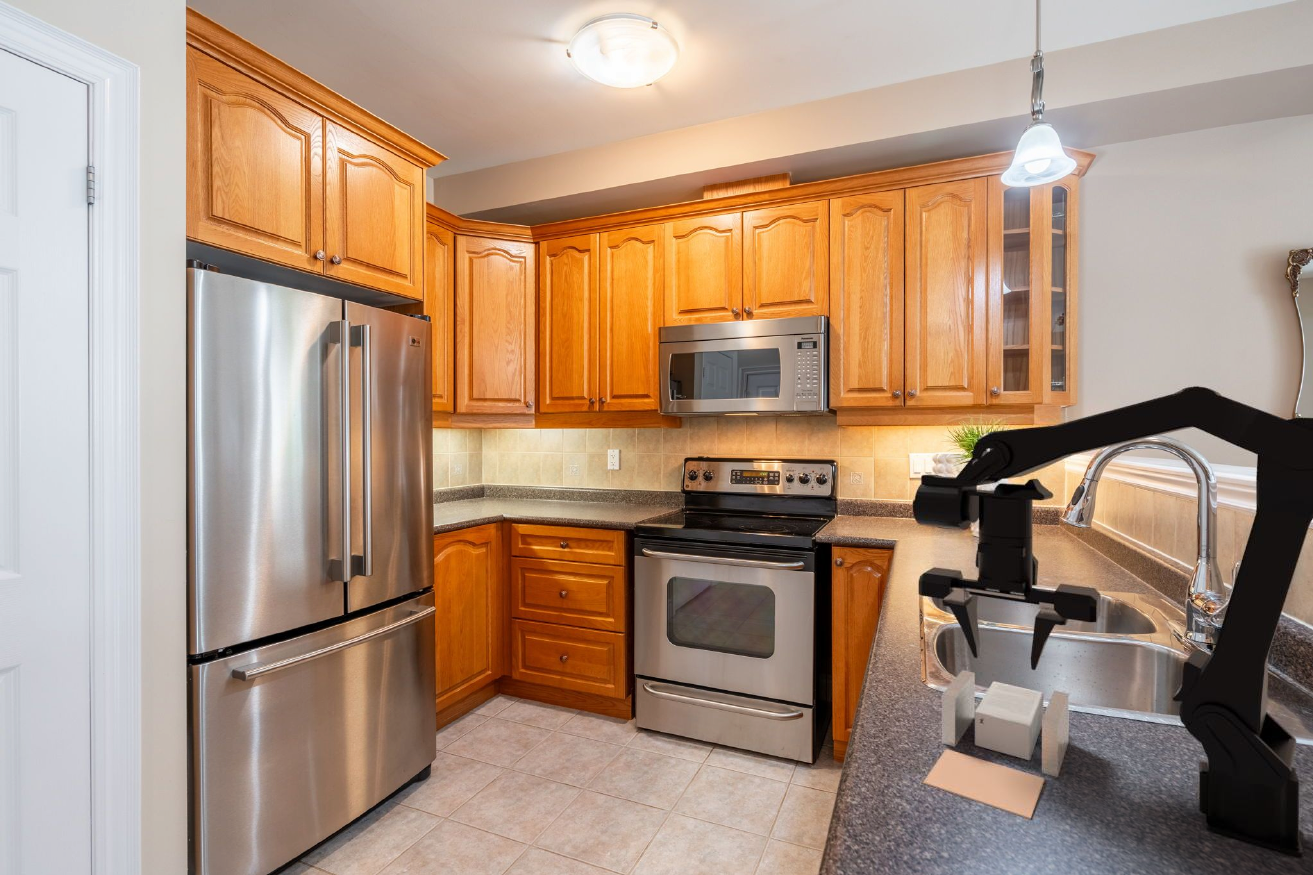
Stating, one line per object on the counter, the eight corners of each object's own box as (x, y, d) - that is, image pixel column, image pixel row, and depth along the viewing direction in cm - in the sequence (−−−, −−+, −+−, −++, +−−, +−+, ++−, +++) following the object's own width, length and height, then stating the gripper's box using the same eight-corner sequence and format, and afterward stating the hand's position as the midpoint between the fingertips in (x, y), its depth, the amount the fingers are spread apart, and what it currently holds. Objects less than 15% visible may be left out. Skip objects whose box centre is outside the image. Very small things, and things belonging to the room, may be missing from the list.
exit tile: (1044, 781, 68) (1044, 778, 68) (1030, 821, 61) (1030, 817, 61) (946, 752, 74) (946, 748, 74) (923, 785, 67) (923, 781, 67)
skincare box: (992, 711, 85) (972, 745, 76) (993, 680, 85) (973, 710, 76) (1044, 724, 82) (1030, 762, 72) (1045, 692, 81) (1031, 725, 72)
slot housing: (1068, 742, 77) (1068, 693, 77) (1057, 777, 69) (1057, 722, 69) (962, 714, 84) (962, 670, 84) (941, 743, 77) (941, 694, 77)
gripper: (1105, 534, 76) (1104, 662, 76) (942, 520, 88) (941, 631, 88) (1096, 547, 68) (1095, 691, 68) (917, 530, 80) (916, 652, 80)
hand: (1004, 662), depth 76 cm, fingers open, 6 cm apart
